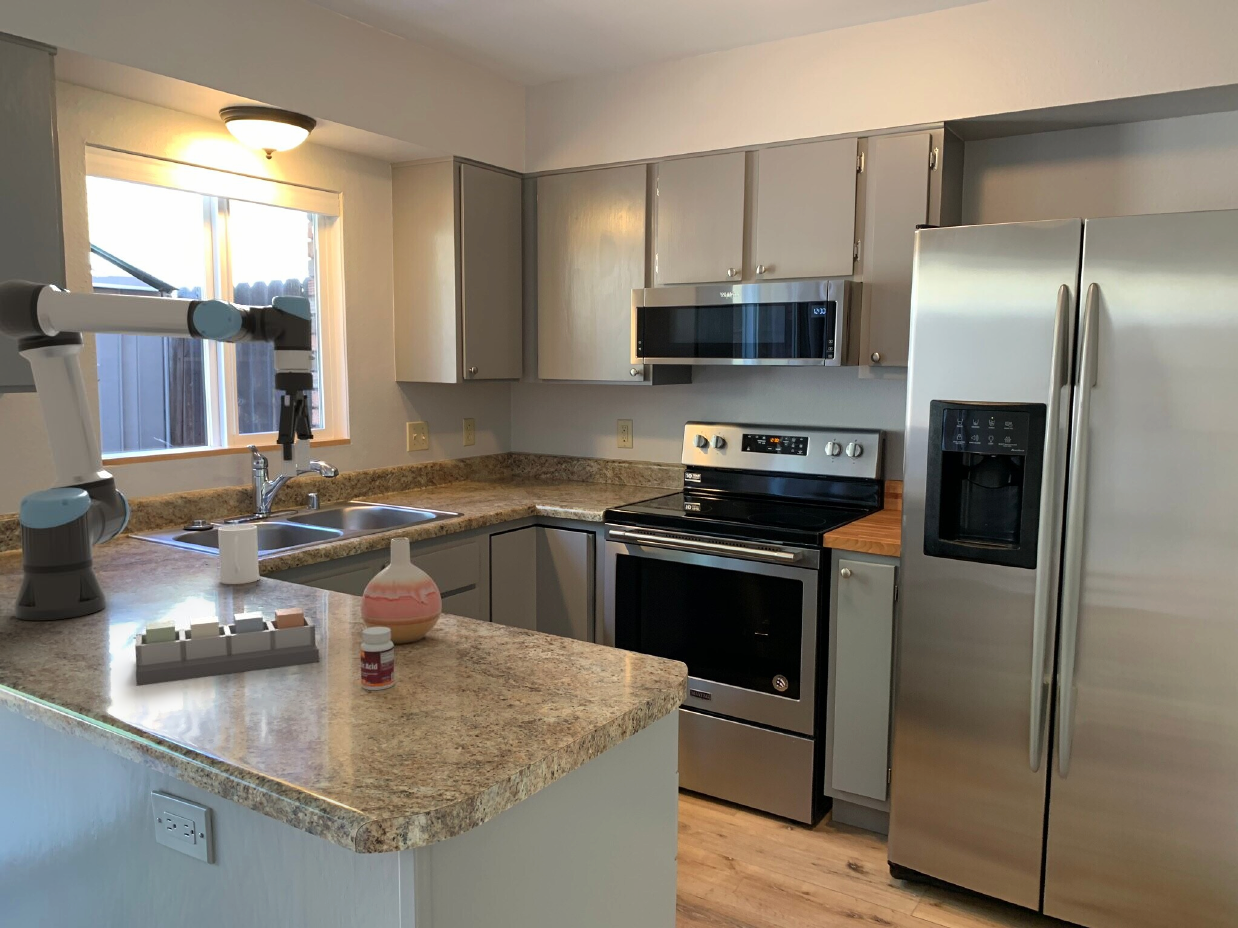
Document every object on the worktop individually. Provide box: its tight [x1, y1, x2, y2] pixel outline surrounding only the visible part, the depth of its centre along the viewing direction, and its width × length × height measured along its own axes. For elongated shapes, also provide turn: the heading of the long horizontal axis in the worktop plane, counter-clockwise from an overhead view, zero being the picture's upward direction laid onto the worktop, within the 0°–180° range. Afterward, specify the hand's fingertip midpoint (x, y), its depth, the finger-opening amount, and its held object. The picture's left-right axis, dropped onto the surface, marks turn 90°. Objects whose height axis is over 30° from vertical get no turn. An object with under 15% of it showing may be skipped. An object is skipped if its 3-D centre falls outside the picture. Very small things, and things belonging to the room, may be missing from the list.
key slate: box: [233, 611, 264, 634], centre depth 151 cm, size 4×4×3 cm
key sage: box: [145, 620, 176, 644], centre depth 146 cm, size 4×4×3 cm
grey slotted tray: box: [134, 615, 320, 686], centre depth 150 cm, size 26×14×5 cm, turn 116°
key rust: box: [274, 607, 305, 629], centre depth 154 cm, size 4×4×3 cm
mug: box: [217, 524, 261, 585], centre depth 208 cm, size 12×8×12 cm
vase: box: [360, 537, 443, 645], centre depth 162 cm, size 14×14×18 cm
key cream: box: [189, 615, 220, 639], centre depth 148 cm, size 4×4×3 cm
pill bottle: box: [359, 627, 395, 691], centre depth 138 cm, size 5×5×8 cm
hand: (296, 473), depth 197 cm, fingers open, 13 cm apart
